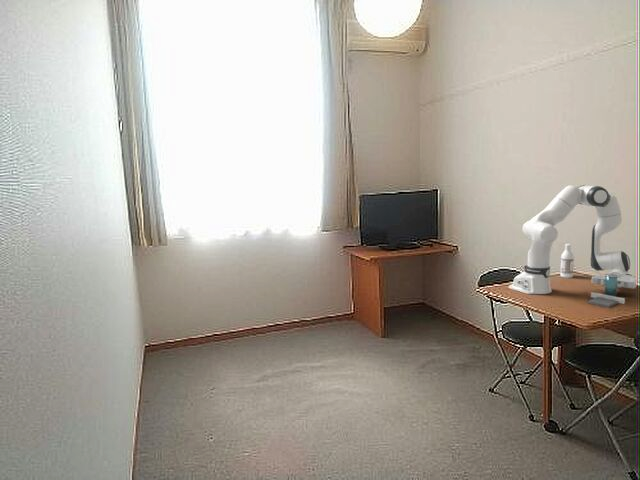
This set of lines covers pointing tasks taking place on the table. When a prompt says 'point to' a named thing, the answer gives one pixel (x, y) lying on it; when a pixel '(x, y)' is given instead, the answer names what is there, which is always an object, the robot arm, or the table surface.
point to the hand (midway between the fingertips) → (610, 284)
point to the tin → (611, 284)
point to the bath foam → (567, 262)
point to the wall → (608, 297)
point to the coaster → (603, 302)
